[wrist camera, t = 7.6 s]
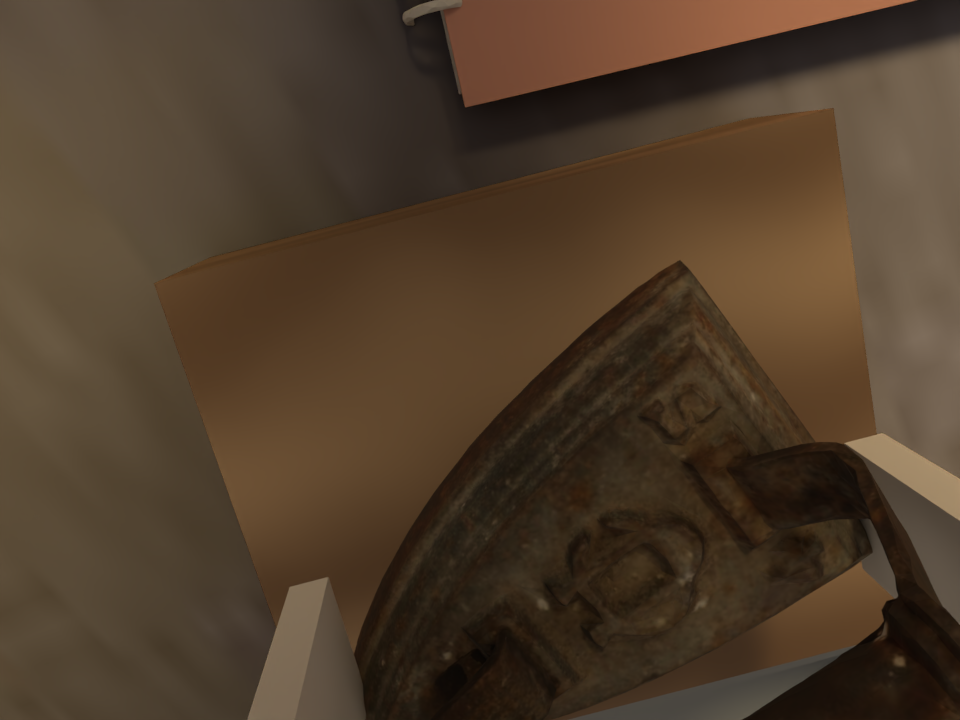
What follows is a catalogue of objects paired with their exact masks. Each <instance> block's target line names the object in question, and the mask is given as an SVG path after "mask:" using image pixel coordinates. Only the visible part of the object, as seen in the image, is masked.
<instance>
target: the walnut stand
mask: <svg viewBox="0 0 960 720" xmlns="http://www.w3.org/2000/svg"><path fill="white" fill-rule="evenodd" d="M679 260H681V261H682V262H683V263H684V264H685V265H686V266H687V267H688V268H689V270H690V271H691V272H692V273H693V275H694V276H695V277H696V278H697V280H698V281H699V282H700V284H701V285H702V286H703V288H704V289H705V290H706V292H707V293H708V295H709V296H710V297H711V299H712V300H713V301H714V303H715V304H716V305H717V307H718V308H719V310H720V311H721V312H722V314H723V315H724V316H725V318H726V319H727V320H728V322H729V323H730V325H731V326H732V327H733V329H734V330H735V331H736V333H737V334H738V336H739V337H740V338H741V340H742V341H743V343H744V344H745V346H746V347H747V348H748V350H749V351H750V353H751V354H752V355H753V357H754V358H755V360H756V361H757V362H758V364H759V365H760V366H761V368H762V369H763V370H764V372H765V373H766V374H767V376H768V377H769V378H770V380H771V381H772V382H773V384H774V385H775V387H776V388H777V389H778V391H779V392H780V393H781V395H782V396H783V398H784V399H785V400H786V402H787V403H788V404H789V406H790V407H791V409H792V410H793V411H794V413H795V414H796V415H797V417H798V418H799V420H800V421H801V422H802V424H803V425H804V426H805V428H806V429H807V431H808V432H809V433H810V435H811V436H812V438H813V439H814V440H815V442H837V443H840V444H844V443H846V442H850V441H854V440H858V439H862V438H866V437H870V436H873V435H877V433H876V426H875V418H874V411H873V403H872V396H871V388H870V381H869V373H868V365H867V358H866V350H865V343H864V335H863V328H862V320H861V313H860V305H859V298H858V290H857V283H856V275H855V268H854V260H853V252H852V245H851V237H850V230H849V222H848V215H847V207H846V200H845V192H844V185H843V177H842V170H841V162H840V154H839V147H838V139H837V132H836V124H835V117H834V109H833V108H831V109H823V110H815V111H806V112H798V113H790V114H782V115H773V116H765V117H757V118H749V119H745V120H741V121H737V122H733V123H730V124H726V125H722V126H718V127H714V128H710V129H706V130H702V131H699V132H695V133H691V134H687V135H683V136H679V137H675V138H671V139H668V140H664V141H660V142H656V143H652V144H648V145H644V146H640V147H637V148H633V149H629V150H625V151H621V152H617V153H613V154H609V155H606V156H602V157H598V158H594V159H590V160H586V161H582V162H578V163H574V164H571V165H567V166H563V167H559V168H555V169H551V170H547V171H543V172H540V173H536V174H532V175H528V176H524V177H520V178H516V179H512V180H509V181H505V182H501V183H497V184H493V185H489V186H485V187H481V188H478V189H474V190H470V191H466V192H462V193H458V194H454V195H450V196H447V197H443V198H439V199H435V200H431V201H427V202H423V203H419V204H416V205H412V206H408V207H404V208H400V209H396V210H392V211H388V212H385V213H381V214H377V215H373V216H369V217H365V218H361V219H357V220H354V221H350V222H346V223H342V224H338V225H334V226H330V227H326V228H323V229H319V230H315V231H311V232H307V233H303V234H299V235H295V236H292V237H288V238H284V239H280V240H276V241H272V242H268V243H264V244H261V245H257V246H253V247H249V248H245V249H241V250H237V251H233V252H229V253H226V254H222V255H218V256H214V257H210V258H208V259H206V260H204V261H201V262H199V263H197V264H195V265H193V266H191V267H189V268H186V269H184V270H182V271H180V272H178V273H176V274H173V275H171V276H169V277H167V278H165V279H163V280H161V281H158V282H156V283H154V285H155V288H156V290H157V293H158V296H159V299H160V302H161V305H162V307H163V310H164V313H165V316H166V319H167V322H168V324H169V327H170V330H171V333H172V336H173V338H174V341H175V344H176V347H177V350H178V353H179V355H180V358H181V361H182V364H183V367H184V369H185V372H186V375H187V378H188V381H189V384H190V386H191V389H192V392H193V395H194V398H195V400H196V403H197V406H198V409H199V412H200V415H201V417H202V420H203V423H204V426H205V429H206V432H207V434H208V437H209V440H210V443H211V446H212V448H213V451H214V454H215V457H216V460H217V463H218V465H219V468H220V471H221V474H222V477H223V479H224V482H225V485H226V488H227V491H228V494H229V496H230V499H231V502H232V505H233V508H234V510H235V513H236V516H237V519H238V522H239V525H240V527H241V530H242V533H243V536H244V539H245V541H246V544H247V547H248V550H249V553H250V556H251V558H252V561H253V564H254V567H255V570H256V573H257V575H258V578H259V581H260V584H261V587H262V589H263V592H264V595H265V598H266V601H267V604H268V606H269V609H270V612H271V615H272V618H273V620H274V623H275V626H276V628H277V625H278V622H279V619H280V616H281V612H282V609H283V606H284V603H285V600H286V597H287V594H288V591H289V587H291V586H295V585H299V584H303V583H307V582H311V581H314V580H318V579H322V578H326V577H328V578H329V581H330V584H331V587H332V590H333V593H334V596H335V599H336V602H337V605H338V608H339V611H340V614H341V617H342V620H343V623H344V626H345V629H346V632H347V635H348V638H349V641H350V645H351V648H352V651H353V654H354V652H355V648H356V645H357V640H358V637H359V634H360V631H361V628H362V625H363V623H364V620H365V618H366V615H367V613H368V610H369V608H370V605H371V603H372V601H373V598H374V596H375V593H376V591H377V589H378V587H379V585H380V582H381V580H382V578H383V576H384V574H385V572H386V571H387V569H388V567H389V565H390V563H391V562H392V560H393V558H394V556H395V554H396V552H397V551H398V549H399V547H400V545H401V543H402V542H403V540H404V538H405V536H406V535H407V533H408V531H409V530H410V528H411V526H412V525H413V523H414V522H415V520H416V519H417V517H418V516H419V514H420V513H421V511H422V509H423V508H424V507H425V505H426V504H427V502H428V501H429V499H430V498H431V496H432V495H433V493H434V492H435V491H436V489H437V488H438V487H439V485H440V484H441V483H442V481H443V480H444V479H445V477H446V476H447V475H448V474H449V472H450V471H451V470H452V468H453V467H454V466H455V465H456V463H457V462H458V461H459V459H460V458H461V457H462V456H463V454H464V453H465V452H466V450H467V449H468V447H469V446H470V445H471V444H472V443H473V442H474V441H475V439H476V438H477V437H478V436H479V435H480V434H481V433H482V432H483V431H484V429H485V428H486V427H487V426H488V425H489V424H490V423H491V422H492V421H493V419H494V418H495V417H496V416H497V415H498V414H499V413H500V412H501V411H502V410H503V409H504V408H505V407H506V406H507V405H508V404H509V403H510V402H511V401H512V400H513V399H514V398H515V397H516V396H517V395H518V394H519V393H520V392H521V391H522V390H523V389H524V388H525V387H526V386H527V385H528V384H529V383H530V382H531V381H532V380H533V379H534V378H535V377H536V376H537V375H538V374H539V373H540V372H541V371H542V370H544V369H545V368H546V367H547V366H548V365H549V364H550V363H551V362H552V361H553V360H554V359H555V358H556V357H558V356H559V355H560V354H561V353H562V352H563V351H564V350H565V349H566V348H567V347H568V346H569V345H570V344H571V343H572V342H573V341H575V340H576V339H577V338H578V337H579V336H580V335H581V334H582V333H583V332H584V331H585V330H586V329H587V328H589V327H590V326H591V325H592V324H593V323H595V322H596V321H597V320H598V319H599V318H601V317H602V316H603V315H604V314H605V313H607V312H608V311H609V310H610V309H612V308H613V307H614V306H615V305H617V304H618V303H619V302H620V301H621V300H623V299H624V298H625V297H626V296H628V295H629V294H630V293H631V292H632V291H634V290H635V289H636V288H637V287H639V286H640V285H642V284H644V283H645V282H647V281H648V280H649V279H651V278H652V277H653V276H655V275H656V274H657V273H658V272H660V271H662V270H663V269H665V268H667V267H668V266H670V265H672V264H674V263H675V262H677V261H679ZM892 599H895V598H893V597H892V596H891V595H890V594H889V593H888V592H887V591H886V590H885V589H884V588H883V587H882V586H881V585H879V584H878V583H877V582H876V581H875V580H874V579H873V578H872V577H871V576H870V575H869V574H868V573H867V572H866V571H864V570H863V568H862V561H861V562H859V563H858V564H857V565H855V566H854V567H853V568H851V569H849V570H848V571H846V572H845V573H843V574H841V575H840V576H838V577H836V578H835V579H833V580H832V581H830V582H828V583H827V584H825V585H823V586H822V587H820V588H818V589H817V590H815V591H813V592H812V593H810V594H809V595H807V596H805V597H804V598H802V599H800V600H799V601H797V602H796V603H794V604H793V605H791V606H789V607H788V608H786V609H785V610H783V611H782V612H780V613H778V614H777V615H775V616H773V617H771V618H770V619H768V620H766V621H764V622H763V623H761V624H759V625H757V626H756V627H754V628H752V629H750V630H749V631H747V632H745V633H743V634H742V635H740V636H738V637H737V638H735V639H733V640H731V641H730V642H728V643H726V644H724V645H723V646H721V647H719V648H717V649H715V650H713V651H711V652H709V653H707V654H705V655H703V656H701V657H699V658H697V659H695V660H693V661H691V662H689V663H687V664H685V665H683V666H681V667H679V668H677V669H675V670H673V671H671V672H669V673H667V674H665V675H663V676H661V677H659V678H657V679H655V680H652V681H650V682H648V683H646V684H644V685H641V686H639V687H637V688H635V689H633V690H630V691H628V692H626V693H623V694H621V695H618V696H616V697H613V698H611V699H608V700H606V701H603V702H601V703H598V704H596V705H593V706H591V707H589V708H586V709H583V710H580V711H577V712H574V713H571V714H568V715H565V716H562V717H559V718H556V719H553V720H569V719H573V718H577V717H581V716H584V715H588V714H592V713H596V712H600V711H604V710H607V709H611V708H615V707H619V706H623V705H627V704H631V703H634V702H638V701H642V700H646V699H650V698H654V697H658V696H661V695H665V694H669V693H673V692H677V691H681V690H685V689H688V688H692V687H696V686H700V685H704V684H708V683H712V682H715V681H719V680H723V679H727V678H731V677H735V676H739V675H742V674H746V673H750V672H754V671H758V670H762V669H765V668H769V667H773V666H777V665H781V664H785V663H789V662H792V661H796V660H800V659H804V658H808V657H812V656H816V655H819V654H823V653H827V652H831V651H835V650H839V649H843V648H846V647H850V646H854V645H857V644H858V643H860V642H861V641H862V640H864V639H865V638H866V637H867V636H869V635H870V634H871V633H873V632H874V631H875V630H877V629H878V628H879V627H880V625H881V624H882V623H883V621H884V619H883V615H882V608H883V606H884V605H885V603H886V601H888V600H892Z"/></svg>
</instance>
